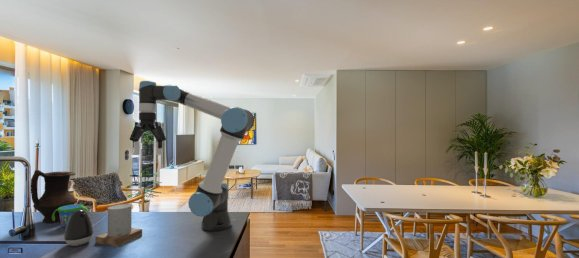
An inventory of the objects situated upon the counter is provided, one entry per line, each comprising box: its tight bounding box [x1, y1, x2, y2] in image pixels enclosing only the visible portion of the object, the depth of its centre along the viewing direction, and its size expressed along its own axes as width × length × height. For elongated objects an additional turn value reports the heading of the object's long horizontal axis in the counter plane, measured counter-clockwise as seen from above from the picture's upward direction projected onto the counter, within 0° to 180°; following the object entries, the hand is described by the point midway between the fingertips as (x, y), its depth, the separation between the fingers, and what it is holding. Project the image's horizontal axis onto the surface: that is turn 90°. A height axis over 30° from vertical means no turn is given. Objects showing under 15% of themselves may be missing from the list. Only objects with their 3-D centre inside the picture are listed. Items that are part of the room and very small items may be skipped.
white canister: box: [107, 203, 133, 237], centre depth 124 cm, size 10×10×12 cm
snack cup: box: [52, 203, 90, 228], centre depth 142 cm, size 16×10×10 cm
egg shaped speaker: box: [63, 209, 94, 247], centre depth 119 cm, size 10×10×15 cm
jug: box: [30, 169, 78, 224], centre depth 150 cm, size 21×18×30 cm
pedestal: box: [94, 227, 143, 247], centre depth 123 cm, size 13×13×3 cm
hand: (147, 154), depth 132 cm, fingers open, 13 cm apart
